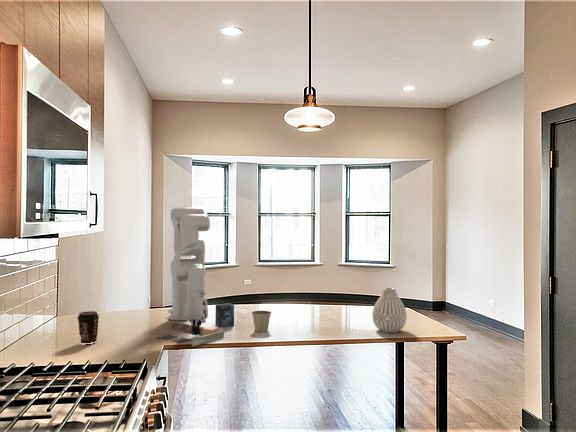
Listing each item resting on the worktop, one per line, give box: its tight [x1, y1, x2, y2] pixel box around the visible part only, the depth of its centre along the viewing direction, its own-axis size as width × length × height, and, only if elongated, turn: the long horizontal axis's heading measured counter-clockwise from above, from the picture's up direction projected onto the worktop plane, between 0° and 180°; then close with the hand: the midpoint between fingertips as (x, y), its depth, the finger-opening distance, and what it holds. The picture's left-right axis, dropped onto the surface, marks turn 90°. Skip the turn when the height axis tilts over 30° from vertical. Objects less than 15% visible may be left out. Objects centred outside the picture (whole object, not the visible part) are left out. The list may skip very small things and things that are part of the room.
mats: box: [157, 334, 193, 344], centre depth 222 cm, size 15×7×1 cm, turn 56°
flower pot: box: [251, 310, 272, 333], centre depth 238 cm, size 9×9×9 cm
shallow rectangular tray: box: [169, 321, 225, 348], centre depth 226 cm, size 33×19×3 cm, turn 56°
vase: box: [371, 287, 408, 334], centre depth 238 cm, size 16×16×20 cm
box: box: [214, 302, 235, 328], centre depth 248 cm, size 8×6×11 cm
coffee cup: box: [77, 310, 100, 343], centre depth 214 cm, size 9×8×13 cm
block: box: [201, 326, 219, 336], centre depth 224 cm, size 5×5×4 cm
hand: (196, 334), depth 226 cm, fingers closed
